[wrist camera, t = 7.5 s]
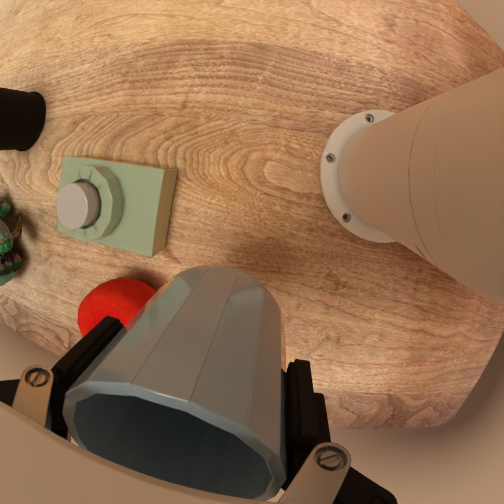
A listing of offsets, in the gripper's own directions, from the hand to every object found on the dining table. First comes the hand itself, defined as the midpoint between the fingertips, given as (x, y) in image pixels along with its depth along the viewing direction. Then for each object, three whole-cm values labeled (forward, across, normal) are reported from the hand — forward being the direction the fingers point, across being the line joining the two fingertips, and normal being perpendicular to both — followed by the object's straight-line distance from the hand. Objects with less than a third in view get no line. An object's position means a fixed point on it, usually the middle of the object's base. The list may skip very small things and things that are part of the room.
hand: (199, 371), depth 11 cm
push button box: (+18, +14, -3) cm, 23 cm away
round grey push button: (+13, +15, -3) cm, 20 cm away
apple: (+18, +10, +8) cm, 22 cm away
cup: (+4, 0, 0) cm, 4 cm away
